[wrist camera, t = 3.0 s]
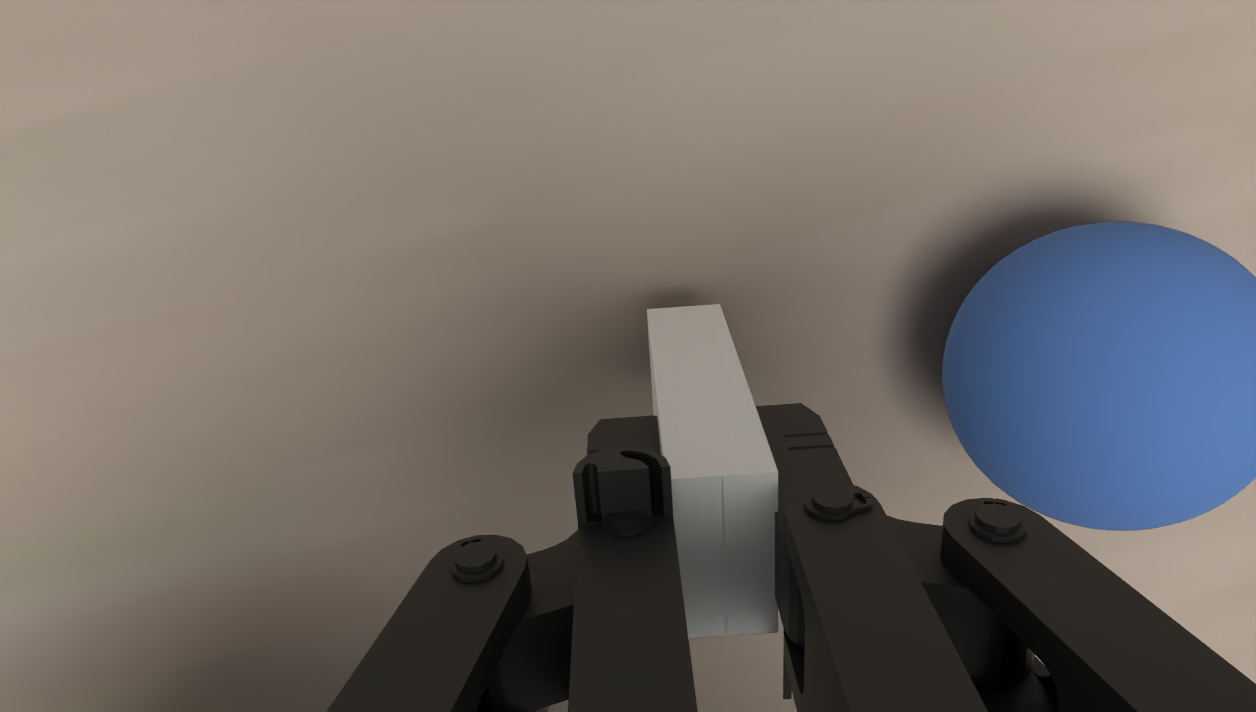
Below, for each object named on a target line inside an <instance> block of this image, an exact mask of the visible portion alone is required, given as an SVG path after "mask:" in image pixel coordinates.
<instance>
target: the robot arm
mask: <svg viewBox="0 0 1256 712" xmlns="http://www.w3.org/2000/svg"><path fill="white" fill-rule="evenodd" d="M647 320H648V336H649V352H650V367H651V383H652V399H653V414H654V416H642V417H627V418H613V419H601V420H600V421H599V422H598V423H597V424H596V426H595V427H594V428H593V429H592V430H591V432H590V433H589V434H588V447H587V453H588V454H587V456H586V457H585V458H584V459H582V460H581V461H580V462H579V463H577V465H576V467H575V470H574V472H573V481H574V490H575V499H576V509H577V518H578V530H577V531H576V532H575V533H574V534H573V535H572V536H570V537H569V538H568V539H567V540H565V541H563V542H561V543H559V544H558V545H556V546H553V547H550V548H548V549H545V550H542V551H538V552H535V553H531V554H528V555H526V553H525V551H524V548H523V546H522V545H520V544H519V543H517V542H516V541H514V540H513V539H511V538H507V537H503V536H498V535H478V536H473V537H469V538H465V539H462V540H458V541H456V542H454V543H452V544H451V545H449V546H447V547H445V548H443V549H442V550H441V551H439V552H438V553H437V554H436V555H435V556H434V557H433V558H432V559H431V560H430V562H429V563H428V565H427V566H426V568H425V569H424V571H423V572H422V574H421V575H420V576H419V578H418V579H417V581H416V582H415V584H414V585H413V587H412V588H411V590H410V591H409V593H408V594H407V595H406V597H405V598H404V600H403V601H402V603H401V604H400V606H399V607H398V609H397V610H396V611H395V613H394V614H393V616H392V617H391V619H390V620H389V622H388V623H387V625H386V626H385V628H384V629H383V630H382V632H381V633H380V635H379V636H378V638H377V639H376V641H375V642H374V644H373V645H372V647H371V648H370V649H369V651H368V652H367V654H366V655H365V657H364V658H363V660H362V661H361V663H360V664H359V666H358V667H357V668H356V670H355V671H354V673H353V674H352V676H351V677H350V679H349V680H348V682H347V683H346V684H345V686H344V687H343V689H342V690H341V692H340V693H339V695H338V696H337V698H336V699H335V701H334V702H333V703H332V705H331V706H330V708H329V709H328V711H327V712H548V706H550V705H553V704H556V703H559V702H562V701H565V700H568V699H569V704H568V712H697V704H696V696H695V688H694V680H693V672H692V664H691V656H690V648H689V640H688V638H701V637H716V636H731V635H745V634H760V633H775V632H778V609H779V612H780V616H781V620H782V624H783V627H784V674H783V699H791V694H792V693H793V697H794V701H795V705H796V708H797V712H1256V684H1255V683H1254V682H1253V681H1251V680H1250V679H1249V678H1247V677H1246V676H1245V675H1244V674H1242V673H1241V672H1240V671H1238V670H1237V669H1236V668H1235V667H1233V666H1232V665H1231V664H1230V663H1228V662H1227V661H1226V660H1224V659H1223V658H1222V657H1221V656H1219V655H1218V654H1217V653H1215V652H1214V651H1213V650H1212V649H1210V648H1209V647H1208V646H1207V645H1205V644H1204V643H1203V642H1201V641H1200V640H1199V639H1198V638H1196V637H1195V636H1194V635H1192V634H1191V633H1190V632H1189V631H1187V630H1186V629H1185V628H1184V627H1182V626H1181V625H1180V624H1178V623H1177V622H1176V621H1175V620H1173V619H1172V618H1171V617H1169V616H1168V615H1167V614H1166V613H1164V612H1163V611H1162V610H1161V609H1159V608H1158V607H1157V606H1155V605H1154V604H1153V603H1152V602H1150V601H1149V600H1148V599H1146V598H1145V597H1144V596H1143V595H1141V594H1140V593H1139V592H1138V591H1136V590H1135V589H1134V588H1132V587H1131V586H1130V585H1129V584H1127V583H1126V582H1125V581H1123V580H1122V579H1121V578H1120V577H1118V576H1117V575H1116V574H1114V573H1113V572H1112V571H1111V570H1109V569H1108V568H1107V567H1106V566H1104V565H1103V564H1102V563H1100V562H1099V561H1098V560H1097V559H1095V558H1094V557H1093V556H1091V555H1090V554H1089V553H1088V552H1086V551H1085V550H1084V549H1083V548H1081V547H1080V546H1079V545H1077V544H1076V543H1075V542H1074V541H1072V540H1071V539H1070V538H1068V537H1067V536H1066V535H1065V534H1063V533H1062V532H1061V531H1060V530H1058V529H1057V528H1056V527H1054V526H1053V525H1052V524H1051V523H1049V522H1048V521H1047V520H1045V519H1044V518H1043V517H1042V516H1040V515H1038V514H1037V513H1035V512H1033V511H1032V510H1030V509H1028V508H1026V507H1025V506H1022V505H1018V504H1015V503H1012V502H1009V501H1006V500H1001V499H993V498H978V499H967V500H964V501H961V502H959V503H956V504H954V505H952V506H951V507H950V508H949V509H948V510H947V511H946V512H945V513H944V519H943V526H938V525H930V524H923V523H915V522H909V521H904V520H899V519H895V518H893V517H890V516H887V515H886V514H885V512H884V510H883V508H882V506H881V504H880V503H879V502H878V501H877V499H876V498H875V497H874V496H873V495H872V494H871V493H869V492H867V491H865V490H863V489H861V488H860V487H858V486H854V485H853V483H852V481H851V479H850V477H849V475H848V473H847V471H846V469H845V467H844V465H843V463H842V461H841V459H840V457H839V454H838V452H837V450H836V448H834V444H833V442H832V440H831V438H830V436H829V435H828V434H827V430H826V428H825V426H824V424H823V422H822V420H821V418H820V416H819V415H817V414H816V413H815V412H813V411H812V410H810V409H809V408H807V407H806V406H804V405H803V404H802V403H797V404H783V405H768V406H755V404H754V401H753V398H752V395H751V392H750V389H749V386H748V384H747V381H746V378H745V375H744V372H743V369H742V366H741V363H740V360H739V358H738V355H737V352H736V349H735V346H734V343H733V340H732V337H731V335H730V332H729V329H728V326H727V323H726V320H725V317H724V314H723V311H722V309H721V306H720V304H712V305H698V306H684V307H670V308H656V309H647ZM1035 655H1036V656H1037V657H1038V658H1039V659H1040V660H1041V661H1042V663H1043V664H1044V665H1045V666H1044V665H1043V664H1042V663H1041V662H1040V661H1039V660H1038V659H1037V658H1036V657H1035Z"/></svg>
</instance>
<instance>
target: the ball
mask: <svg viewBox="0 0 1256 712" xmlns="http://www.w3.org/2000/svg"><path fill="white" fill-rule="evenodd" d="M943 391H944V398H945V404H946V407H947V410H948V414H949V417H950V420H951V423H952V426H953V429H954V431H955V433H956V435H957V437H958V439H959V441H960V443H961V444H962V446H963V447H964V449H965V451H966V452H967V454H968V455H969V456H970V458H971V459H972V461H973V462H974V463H975V465H976V466H977V467H978V468H979V469H980V470H981V471H982V472H983V473H984V474H985V475H986V476H987V477H988V478H989V479H990V480H991V481H992V482H993V483H994V484H995V485H996V486H997V487H998V488H1000V489H1001V490H1003V491H1004V492H1005V493H1007V494H1008V495H1009V496H1011V497H1012V498H1014V499H1015V500H1016V501H1018V502H1019V503H1021V504H1023V505H1025V506H1027V507H1029V508H1030V509H1032V510H1034V511H1036V512H1039V513H1041V514H1043V515H1045V516H1048V517H1050V518H1053V519H1056V520H1059V521H1061V522H1065V523H1069V524H1073V525H1078V526H1082V527H1087V528H1091V529H1101V530H1117V531H1129V530H1144V529H1152V528H1158V527H1162V526H1167V525H1171V524H1175V523H1180V522H1183V521H1186V520H1189V519H1192V518H1195V517H1197V516H1199V515H1201V514H1204V513H1206V512H1208V511H1210V510H1212V509H1214V508H1216V507H1217V506H1219V505H1221V504H1223V503H1225V502H1226V501H1227V500H1229V499H1230V498H1232V497H1233V496H1235V495H1236V494H1238V493H1239V492H1240V491H1241V490H1242V489H1244V488H1245V487H1246V486H1247V485H1248V484H1250V483H1251V482H1252V481H1253V480H1254V479H1255V478H1256V277H1255V276H1254V275H1253V274H1252V273H1250V272H1249V271H1248V270H1247V269H1246V268H1245V267H1244V266H1243V265H1242V264H1240V263H1239V262H1238V261H1237V260H1236V259H1234V258H1233V257H1231V256H1230V255H1228V254H1227V253H1225V252H1224V251H1222V250H1221V249H1219V248H1217V247H1215V246H1213V245H1212V244H1210V243H1208V242H1206V241H1204V240H1202V239H1199V238H1197V237H1195V236H1192V235H1190V234H1187V233H1184V232H1181V231H1178V230H1174V229H1170V228H1167V227H1163V226H1159V225H1153V224H1145V223H1136V222H1126V221H1121V222H1099V223H1092V224H1085V225H1078V226H1073V227H1069V228H1065V229H1062V230H1058V231H1055V232H1052V233H1050V234H1047V235H1045V236H1042V237H1040V238H1037V239H1035V240H1033V241H1031V242H1029V243H1027V244H1026V245H1024V246H1022V247H1020V248H1018V249H1016V250H1015V251H1013V252H1012V253H1010V254H1009V255H1007V256H1006V257H1004V258H1003V259H1002V260H1000V261H999V262H998V263H997V264H996V265H994V266H993V267H992V268H991V269H990V270H989V271H988V272H987V273H986V274H985V275H984V276H983V277H982V278H981V279H980V280H979V281H978V282H977V283H976V285H975V286H974V287H973V288H972V290H971V291H970V292H969V294H968V295H967V296H966V298H965V300H964V301H963V303H962V305H961V306H960V308H959V310H958V312H957V314H956V316H955V319H954V321H953V323H952V326H951V328H950V331H949V335H948V338H947V342H946V345H945V350H944V357H943Z"/></svg>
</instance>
